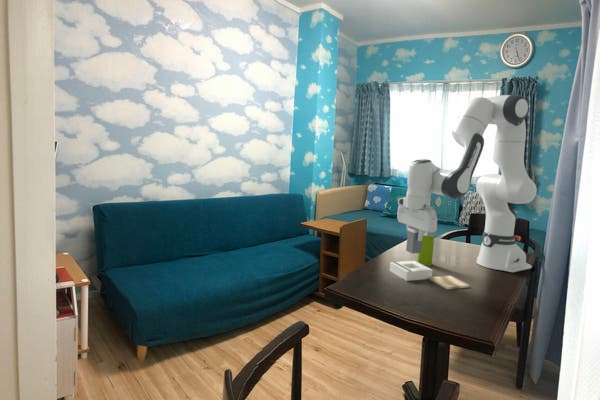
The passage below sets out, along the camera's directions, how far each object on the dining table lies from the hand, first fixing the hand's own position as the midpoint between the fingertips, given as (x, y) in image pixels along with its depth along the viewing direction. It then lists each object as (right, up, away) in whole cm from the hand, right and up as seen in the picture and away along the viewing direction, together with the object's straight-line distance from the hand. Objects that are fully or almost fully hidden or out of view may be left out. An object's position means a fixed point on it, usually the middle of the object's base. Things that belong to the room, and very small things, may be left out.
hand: (414, 238), depth 145 cm
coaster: (+11, -16, -5) cm, 20 cm away
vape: (+9, -13, +17) cm, 23 cm away
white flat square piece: (-1, -14, +2) cm, 14 cm away
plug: (0, -5, +1) cm, 5 cm away
